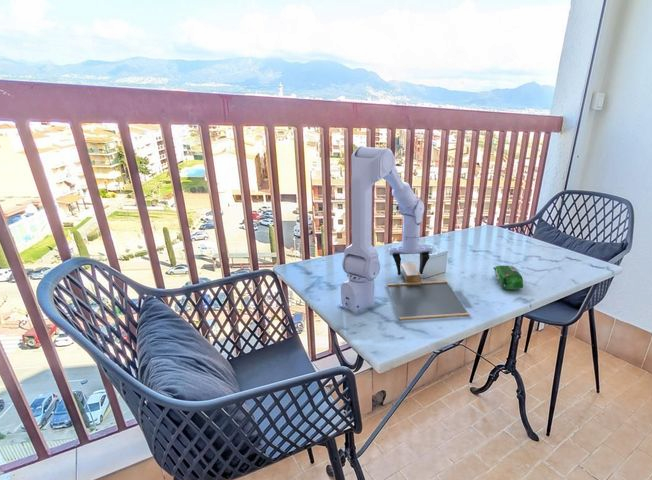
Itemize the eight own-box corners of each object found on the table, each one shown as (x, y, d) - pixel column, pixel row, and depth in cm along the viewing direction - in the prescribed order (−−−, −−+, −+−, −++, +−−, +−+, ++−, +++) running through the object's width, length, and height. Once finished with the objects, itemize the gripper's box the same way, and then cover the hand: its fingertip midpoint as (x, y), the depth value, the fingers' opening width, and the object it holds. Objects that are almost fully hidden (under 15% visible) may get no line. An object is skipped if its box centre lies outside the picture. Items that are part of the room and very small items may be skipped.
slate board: (399, 322, 110) (399, 318, 109) (387, 287, 131) (387, 283, 131) (469, 318, 113) (469, 314, 112) (446, 284, 134) (446, 280, 134)
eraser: (406, 285, 133) (406, 275, 131) (400, 272, 143) (401, 263, 142) (419, 284, 134) (420, 274, 132) (413, 271, 144) (413, 262, 142)
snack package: (511, 275, 143) (513, 261, 140) (524, 293, 129) (526, 278, 126) (491, 275, 142) (493, 261, 140) (502, 293, 129) (504, 278, 126)
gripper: (429, 231, 136) (427, 268, 142) (387, 232, 134) (387, 270, 140) (434, 237, 130) (432, 276, 136) (390, 238, 128) (390, 278, 134)
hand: (410, 273), depth 138 cm, fingers open, 7 cm apart
